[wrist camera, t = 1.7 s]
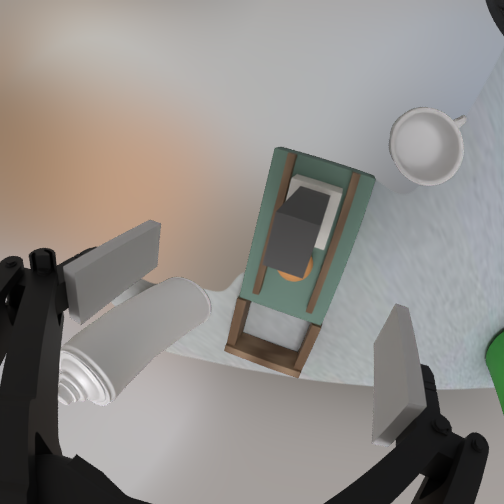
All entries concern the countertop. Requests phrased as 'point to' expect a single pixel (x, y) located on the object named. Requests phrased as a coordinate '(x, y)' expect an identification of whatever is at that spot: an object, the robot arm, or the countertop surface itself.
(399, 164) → the teacup
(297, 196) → the block
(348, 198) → the rails
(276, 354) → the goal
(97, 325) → the spray can
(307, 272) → the ball
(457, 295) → the countertop surface
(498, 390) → the bottle
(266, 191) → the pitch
